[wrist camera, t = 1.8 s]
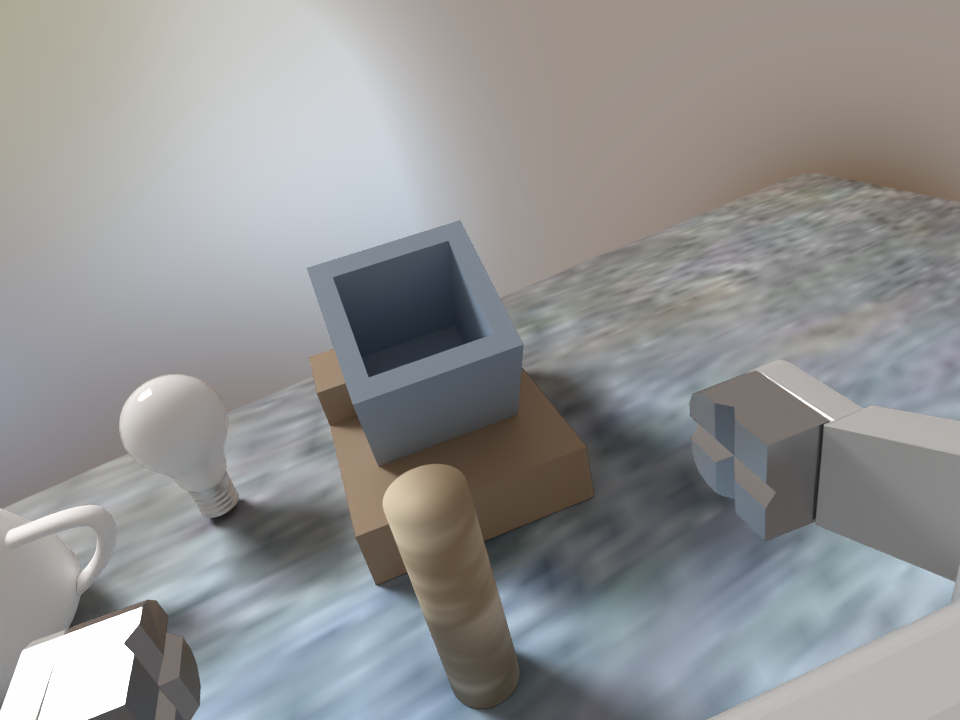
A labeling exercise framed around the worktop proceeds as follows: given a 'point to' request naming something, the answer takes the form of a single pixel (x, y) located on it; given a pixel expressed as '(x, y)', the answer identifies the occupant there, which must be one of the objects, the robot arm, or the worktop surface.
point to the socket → (435, 390)
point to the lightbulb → (181, 438)
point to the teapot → (44, 577)
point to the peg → (453, 581)
